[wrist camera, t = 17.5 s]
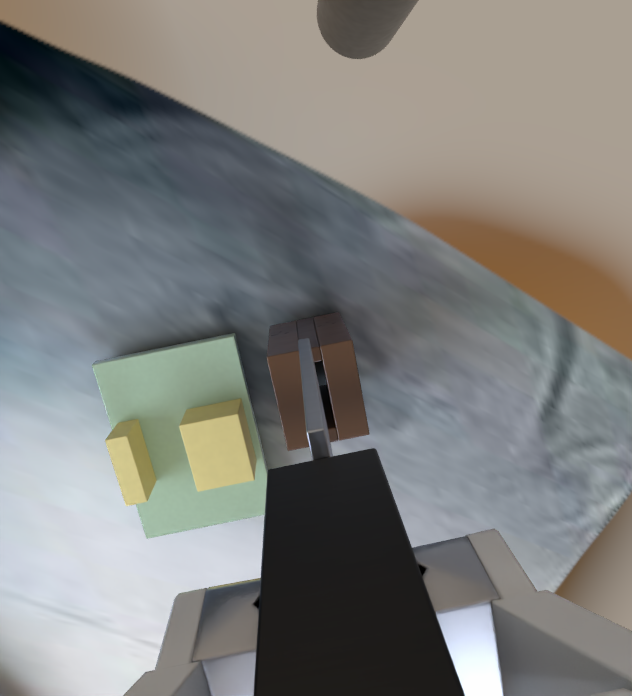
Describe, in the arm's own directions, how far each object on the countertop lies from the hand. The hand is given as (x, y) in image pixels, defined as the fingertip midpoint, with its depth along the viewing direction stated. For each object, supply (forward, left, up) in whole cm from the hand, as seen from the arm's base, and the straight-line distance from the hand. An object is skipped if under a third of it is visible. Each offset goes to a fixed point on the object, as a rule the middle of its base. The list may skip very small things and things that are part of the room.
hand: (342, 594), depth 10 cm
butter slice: (+9, -14, -30) cm, 34 cm away
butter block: (+9, -7, -30) cm, 32 cm away
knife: (0, 0, -11) cm, 11 cm away
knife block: (+5, 0, -31) cm, 31 cm away
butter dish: (+9, -10, -31) cm, 34 cm away
